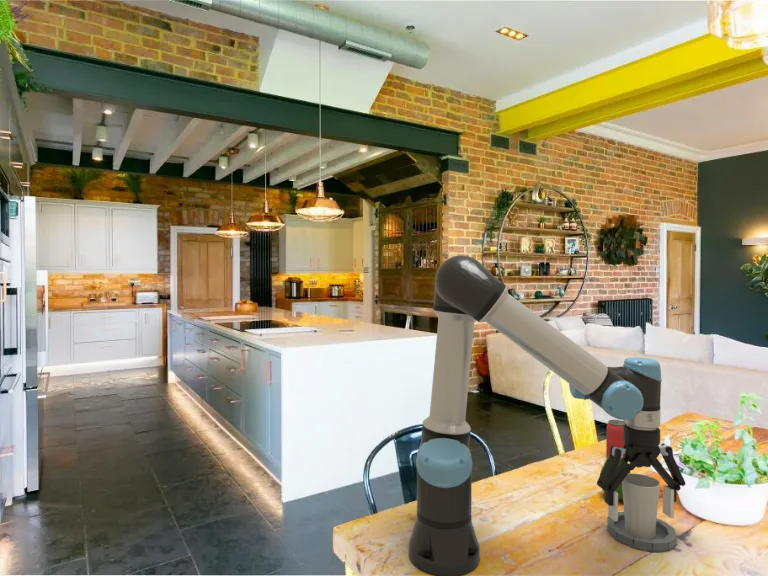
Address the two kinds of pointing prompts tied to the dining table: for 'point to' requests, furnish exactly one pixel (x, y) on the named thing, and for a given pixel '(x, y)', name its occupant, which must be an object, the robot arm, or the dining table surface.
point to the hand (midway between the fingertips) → (640, 517)
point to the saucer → (659, 543)
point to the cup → (640, 504)
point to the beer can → (614, 435)
